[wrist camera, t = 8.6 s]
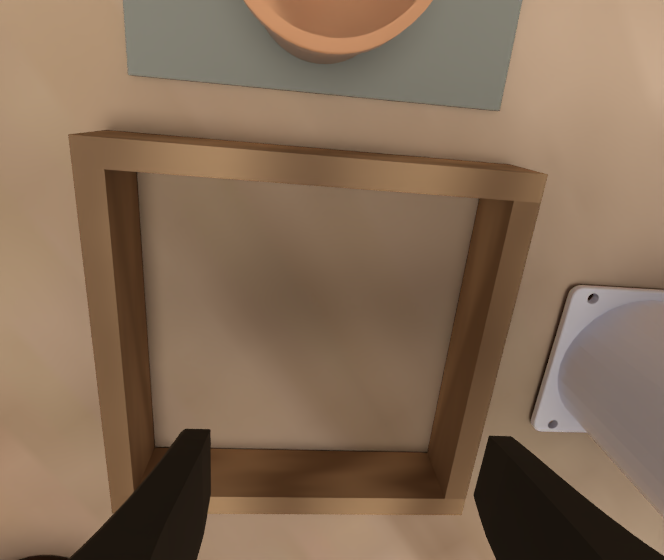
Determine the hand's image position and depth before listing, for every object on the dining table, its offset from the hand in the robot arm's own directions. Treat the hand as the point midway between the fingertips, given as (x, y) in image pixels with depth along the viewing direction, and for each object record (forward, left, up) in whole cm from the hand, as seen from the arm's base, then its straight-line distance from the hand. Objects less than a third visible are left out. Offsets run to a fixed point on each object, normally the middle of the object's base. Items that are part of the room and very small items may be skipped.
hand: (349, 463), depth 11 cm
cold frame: (+1, +1, -9) cm, 10 cm away
